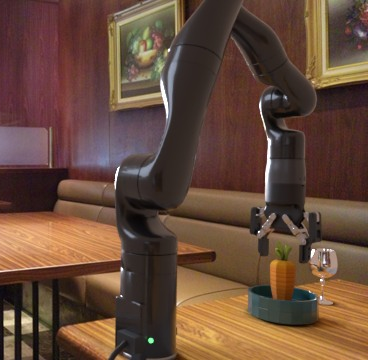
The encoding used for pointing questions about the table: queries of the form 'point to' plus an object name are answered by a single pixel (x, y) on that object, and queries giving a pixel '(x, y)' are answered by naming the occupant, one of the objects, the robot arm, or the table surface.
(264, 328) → the table surface
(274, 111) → the robot arm
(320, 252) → the wineglass
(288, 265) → the carrot
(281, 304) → the bowl
